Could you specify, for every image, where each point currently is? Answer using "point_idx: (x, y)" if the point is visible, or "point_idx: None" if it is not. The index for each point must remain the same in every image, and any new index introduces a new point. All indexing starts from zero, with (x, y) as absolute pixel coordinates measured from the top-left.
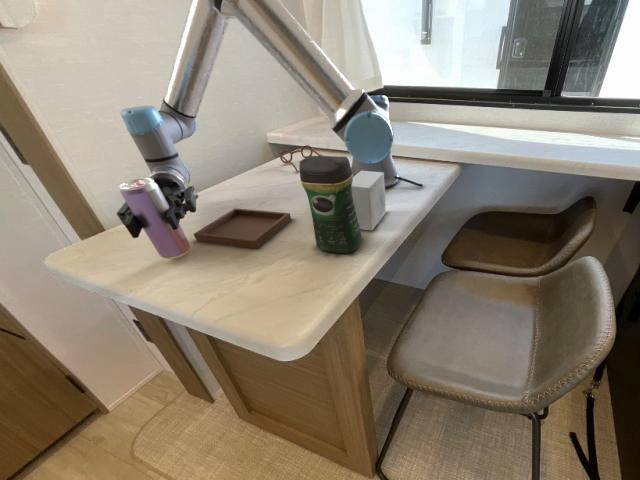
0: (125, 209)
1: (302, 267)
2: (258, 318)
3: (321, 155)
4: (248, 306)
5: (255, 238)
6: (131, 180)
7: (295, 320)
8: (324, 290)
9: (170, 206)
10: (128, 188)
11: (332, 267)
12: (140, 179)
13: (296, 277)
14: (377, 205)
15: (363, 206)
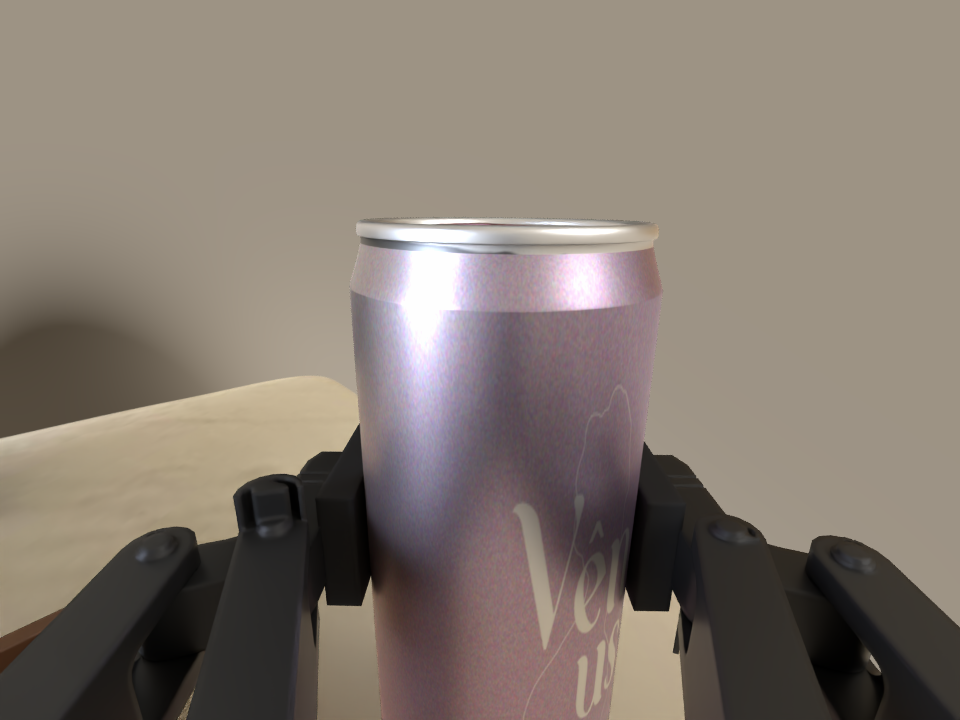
0: (875, 626)
1: (119, 476)
2: (327, 404)
3: None
4: (328, 424)
5: (37, 626)
6: (594, 227)
7: (280, 390)
8: (178, 414)
9: (356, 469)
10: (532, 219)
11: (72, 453)
12: (497, 235)
13: (175, 453)
14: None
15: None
